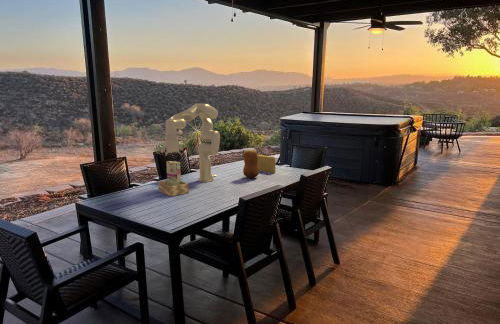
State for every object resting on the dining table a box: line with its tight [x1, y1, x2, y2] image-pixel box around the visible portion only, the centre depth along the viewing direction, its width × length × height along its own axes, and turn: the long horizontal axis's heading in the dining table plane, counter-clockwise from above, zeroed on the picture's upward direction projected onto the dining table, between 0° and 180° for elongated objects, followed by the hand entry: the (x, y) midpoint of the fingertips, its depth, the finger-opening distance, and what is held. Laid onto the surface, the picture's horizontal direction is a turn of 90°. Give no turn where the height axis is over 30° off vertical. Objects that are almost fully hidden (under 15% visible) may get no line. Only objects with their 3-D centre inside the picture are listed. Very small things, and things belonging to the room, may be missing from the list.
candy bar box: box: [165, 160, 182, 181], centre depth 292 cm, size 11×5×16 cm, turn 62°
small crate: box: [165, 178, 180, 186], centre depth 261 cm, size 6×10×8 cm, turn 38°
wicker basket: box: [157, 179, 190, 197], centre depth 261 cm, size 15×19×7 cm
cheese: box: [257, 154, 277, 174], centre depth 331 cm, size 22×10×15 cm, turn 46°
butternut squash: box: [242, 149, 260, 180], centre depth 303 cm, size 14×13×25 cm
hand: (172, 160), depth 257 cm, fingers open, 9 cm apart
